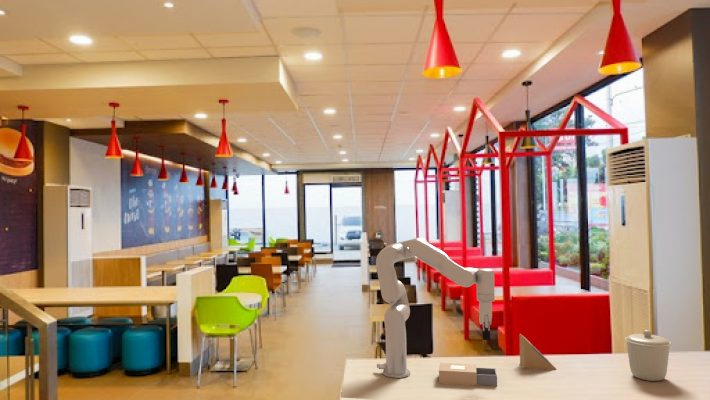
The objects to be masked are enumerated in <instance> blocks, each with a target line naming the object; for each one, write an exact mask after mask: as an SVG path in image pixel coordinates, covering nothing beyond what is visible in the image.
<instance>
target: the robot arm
mask: <svg viewBox="0 0 710 400" xmlns="http://www.w3.org/2000/svg"><path fill="white" fill-rule="evenodd" d="M411 258H412V259H413V258H415V259H417V260H419V261H421V262H423V263H424V264H426V265H428V266H430V267H431V268H433V269H434V270H436V271H437V272H438V273H440V274H441V275H442V276H444V277H445V278H447V279H449V280H450V281H451V282H454V283H455V284H457V285H459V286H461V287H463V288H469V287H472V286H473V285H474V284H475V285H476V301H478V302H479V305H478V318H479V320H478V321H479V324H480V325H482V329H481V330H482V331H481V332H482V333H481V334H482V340H483V341H491V329H490V328H491V327H490V325H492V318H493V303H492V302H495V301H496V300H495V296H496V295H495V271H494V270H493V269H491V268H474V267H463V266H461V265H459V264H458V263H456V262H454V261H453V260H452V259H450V257H449V256H448V254H447V253H445V252H444V251H443V250H441V249H439V248H437V247H436V246H434V245H432V244H430V243H429V240H427V239H426V238H424V237H420V236H419V237H415V238H413V239H412V238H411V239H407V240H404V241H399V242H396V243H392V244H388V245H387V246H385V247H384V248H382V249H381V250H380V251H379V253H378V254H377V256H376V259H375V265H376V266H375V267H376V272H377V277H378V282H379V287H380V293H381V297H382V300H383V301H384V302H386V303H388V304H389V307H388V308H387V309H386V310H385V313H384V316H383V317H384V318H383V319H384V320H383V321H384V327H385V328H384V329H385V363H384V362H383V363H376V368H378V370H382V375H384V376H385V377H387V378H391V379H392V378H393V379H400V378H401V379H403V378H407V377H408V376H410V375H411V370H410V369H409V368H407V367H408V366H407V361H408V360H407V329H406V321H407V320H408V319H409V317H410V313H411V309H410V303H409V299H408V294H407V290H406V287H405V285H404V283H402V281H400V280H399V279H398V277H397V272H396V269H395V263H397V262H401V261H403V260H406V259H411Z"/></svg>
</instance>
